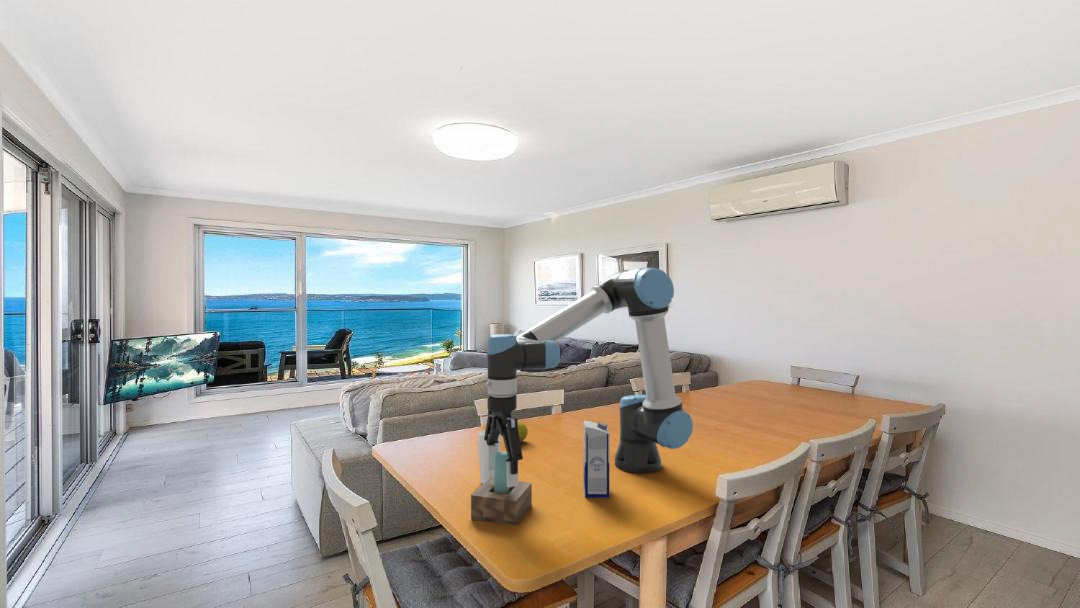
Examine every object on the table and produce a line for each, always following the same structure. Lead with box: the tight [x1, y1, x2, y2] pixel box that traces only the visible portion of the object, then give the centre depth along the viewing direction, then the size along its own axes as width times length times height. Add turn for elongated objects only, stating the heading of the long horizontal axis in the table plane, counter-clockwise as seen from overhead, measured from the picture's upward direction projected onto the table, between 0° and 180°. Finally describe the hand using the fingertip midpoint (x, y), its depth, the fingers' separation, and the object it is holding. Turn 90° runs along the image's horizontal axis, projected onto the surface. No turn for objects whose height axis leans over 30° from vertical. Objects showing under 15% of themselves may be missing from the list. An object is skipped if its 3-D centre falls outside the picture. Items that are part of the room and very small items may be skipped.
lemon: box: [517, 420, 529, 443], centre depth 181 cm, size 11×8×8 cm
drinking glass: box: [477, 429, 502, 485], centre depth 142 cm, size 7×7×15 cm
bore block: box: [470, 478, 533, 527], centre depth 123 cm, size 12×12×6 cm
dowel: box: [494, 451, 509, 494], centre depth 123 cm, size 4×4×14 cm
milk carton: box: [583, 420, 611, 499], centre depth 135 cm, size 7×7×20 cm
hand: (502, 477), depth 123 cm, fingers open, 12 cm apart
